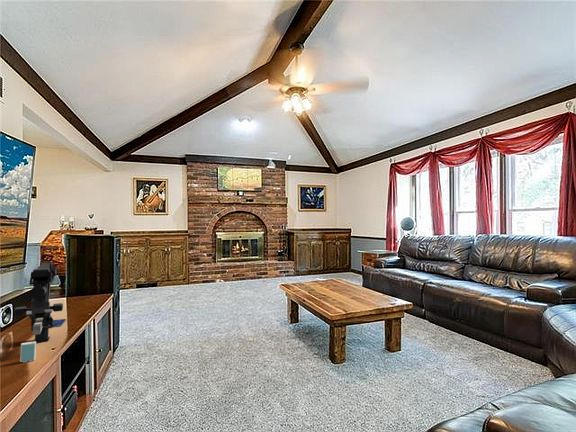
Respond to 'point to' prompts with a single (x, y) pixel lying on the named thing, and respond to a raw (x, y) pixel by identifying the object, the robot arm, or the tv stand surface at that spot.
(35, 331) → the curved white panel
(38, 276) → the robot arm
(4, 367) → the tv stand surface
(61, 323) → the smartphone
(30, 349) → the tile
